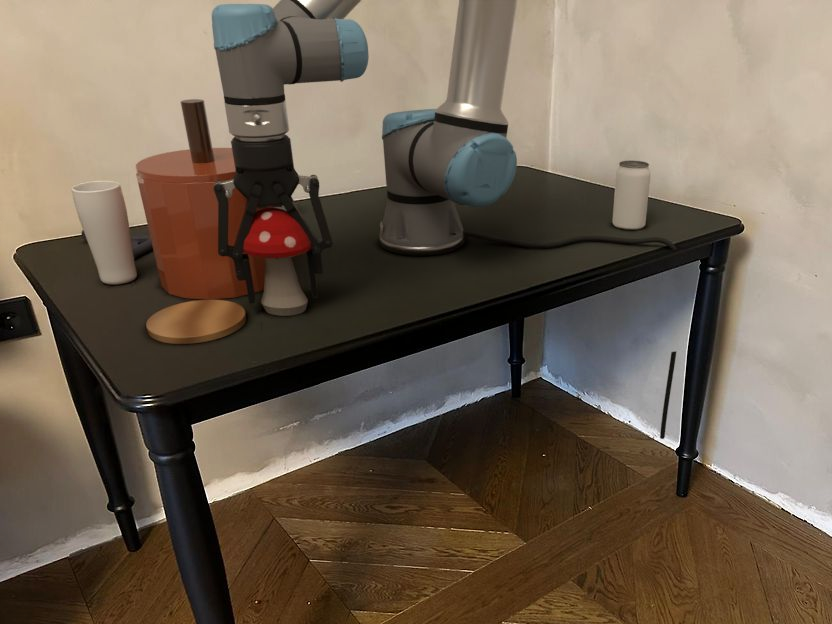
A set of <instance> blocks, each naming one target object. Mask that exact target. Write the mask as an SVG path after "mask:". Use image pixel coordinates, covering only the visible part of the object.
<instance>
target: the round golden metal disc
mask: <svg viewBox="0 0 832 624" xmlns="http://www.w3.org/2000/svg"><path fill="white" fill-rule="evenodd" d="M246 322H247V315H246V310H245V308H244V307H243V306H242V305H241V304H239V303H237V302H233V301H229V300H224V299H213V300H205V299H196V300H190V301H186V302H180V303H177V304H173V305H170V306H167V307H164V308H162V309H160V310H159V311H157V312H155V313H153V314H152V315H151V316H150V317H149V318H148V319H147V321H146V322H145V323H146V325H145V327H146V330H147V334H148V336H149V337H150V338H151V339H153V340H155V341H158V342H160V343H165V344H172V345H191V344H192V345H193V344H199V343H207V342H210V341H215V340H218V339H221V338H224V337H227V336H230V335H231V334H234V333H236V332H237V331H239V330H240V329H241V328H242V327H243V326H244V325H245V324H246Z"/></svg>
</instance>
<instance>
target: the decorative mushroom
mask: <svg viewBox="0 0 832 624" xmlns="http://www.w3.org/2000/svg"><path fill="white" fill-rule="evenodd" d="M243 249H244V251H243V252H244V253H245V254H248V255H251V256H255V257H260V258H265V282H264V290H263V292H262V296H261V299H260V303H261V305H262V307H263V309H264V310H265V312H266V313H267V314H270V315H272V316H273V315H274V316H281V317H286V316H287V317H289V316H290V317H291V316H297V315H299V314H303V313H304V312H306V310H307V306H308V302H309V301H308V297H307V296H306V295H305V293H304V291H303V290H302V287H301V284H300V281H299V278H298V275H297V272H296V269H295V266H294V262H293V258H294V257H297V256H300V255H302V254H305V253H307V251H309V250H310V249H311V242H310V240H309V238H308V236H307V234H306V233H305V231H304V230H303V229H302V227H301V225H300V224H299V223H298V222H297V221H296V220H295V219H293V218H292V217H291V216H290V214H289V213H288V212H287V211H285V210H282V209H279V208H264V209H261V210H259V211H257V212H255V215H254V218H253V221H252V224H251V228H250V231H249V234H248V236H247V237H246V239H245V240H244V247H243Z"/></svg>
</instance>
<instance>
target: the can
mask: <svg viewBox="0 0 832 624" xmlns="http://www.w3.org/2000/svg"><path fill="white" fill-rule="evenodd" d="M618 164H619V165H618V167H617V169H616V172H615V183H614V196H613V208H612V222H611V223H612V225H613V227H615V228H617V229H619V230H625V231H638V230H641V229H643V228H644V227H645V226H646V220H647V213H648V204H649V192H650V182H651V171H650V168H649V166H650V164H649V163H648V162H646V161H643V160H635V159H634V160H629V159H628V160H622V161H619V163H618Z"/></svg>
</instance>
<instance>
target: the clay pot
mask: <svg viewBox="0 0 832 624" xmlns="http://www.w3.org/2000/svg"><path fill="white" fill-rule="evenodd" d="M180 107H181V112H182V117H183V122H184V127H185V133H186V138H187V143H188V148H189V149H180V150H174V151H173V150H172V151H168V152H162V153H158V154H154V155H151V156H148V157H145V158H143V159H141V160H139V161H138V162H137V163H136V164H135V171H136V174H135V176H136V181H137V184H138V185H137V186H138V190H139V193H140V198H141V202H142V206H143V211H144V215H145V220H146V224H147V229H148V233H149V235H150V238H151V242H152V246H153V249H152V250H153V254H154V260H155V264H156V268H157V272H158V276H159V281H160V285H161V287H162V289H163V290H164V291H165V292H167V293H168V294H169V295H171V296H176V297H178V298H183V299H189V300H224V299H232V298H233V299H234V298H238V297H243V296H248V292H247V286H246V280H241V281H239V280H238V279H237V277H236V271H235V265H234V261H233V259H232V258H231V257H227V256H223V257H222V256H220V255H219V254H218V200H217V197H216V195H215V192H214V184H215V182H216V181H217V180H220V181H222V182H223V181H228V180H232V179H234V176H235V173H236V171H235V164H234V158H233V152H232V147H213V144H212V143H213V142H212V137H211V131H210V127H209V121H208V115H207V114H208V113H207V110H206V104H205V100H204V99H201V98H200V99H199V98H191V99H184V100H183V99H182V100H180ZM228 201H229V207H228V245H231V246H234V244H235V241H236V237H237V234H238V231H239V227H240V224H241V221H242V217H243V214H244V211H245V207H246V203H247V199H246V198H245V197H244V196H243V195H242V194H241V193H240V192H239V191H238V190H237V188H234V189H233V190H232V196H231V197H230V198H228ZM266 208H275V207H273V206H269V207H266ZM261 209H264V208H259V207H257V209H256V212H257V211H259V210H261ZM243 254H245V253H244V252H243ZM248 257H249V263H250V269H251V275H252V281H253V287H254V293H255V294H256V293H260V292H262V291H264V282H265V258H260V257H255V256H251V255H248Z"/></svg>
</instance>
